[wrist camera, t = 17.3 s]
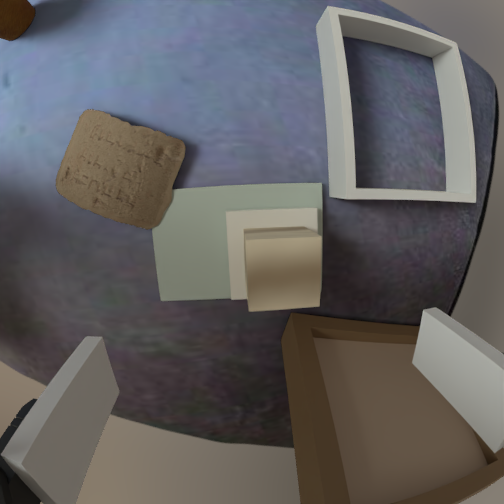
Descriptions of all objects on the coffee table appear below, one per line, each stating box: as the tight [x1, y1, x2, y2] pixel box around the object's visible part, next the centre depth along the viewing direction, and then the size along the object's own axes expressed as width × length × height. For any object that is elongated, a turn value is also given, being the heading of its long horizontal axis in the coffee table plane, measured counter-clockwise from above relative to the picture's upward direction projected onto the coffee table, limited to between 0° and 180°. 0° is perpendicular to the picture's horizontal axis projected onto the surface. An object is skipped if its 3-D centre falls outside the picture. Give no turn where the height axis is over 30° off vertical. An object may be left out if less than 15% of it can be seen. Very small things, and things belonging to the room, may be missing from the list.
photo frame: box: [281, 312, 504, 504], centre depth 24 cm, size 15×22×25 cm
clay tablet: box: [56, 109, 186, 230], centre depth 27 cm, size 14×10×3 cm
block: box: [243, 226, 322, 312], centre depth 27 cm, size 6×6×6 cm
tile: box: [226, 207, 318, 300], centre depth 30 cm, size 2×9×9 cm
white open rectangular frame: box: [316, 6, 476, 203], centre depth 27 cm, size 18×21×5 cm
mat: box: [152, 183, 323, 301], centre depth 31 cm, size 18×12×1 cm, turn 92°
